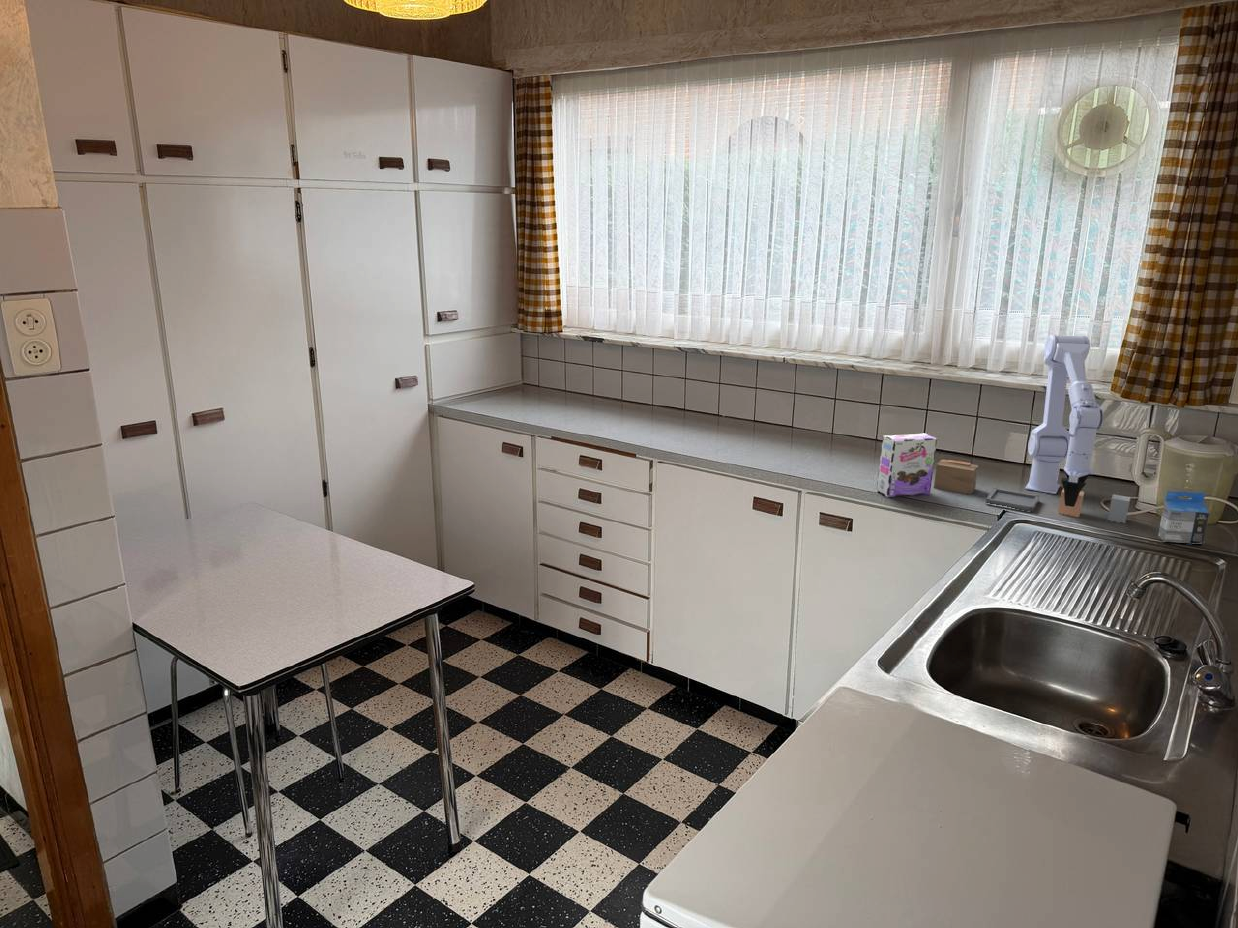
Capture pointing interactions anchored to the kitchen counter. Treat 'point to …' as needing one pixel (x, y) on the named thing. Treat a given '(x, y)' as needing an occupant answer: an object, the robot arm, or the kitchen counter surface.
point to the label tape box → (1184, 517)
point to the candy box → (906, 464)
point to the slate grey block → (1118, 508)
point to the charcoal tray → (1013, 499)
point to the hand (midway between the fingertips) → (1071, 502)
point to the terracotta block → (1070, 510)
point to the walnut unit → (956, 476)
